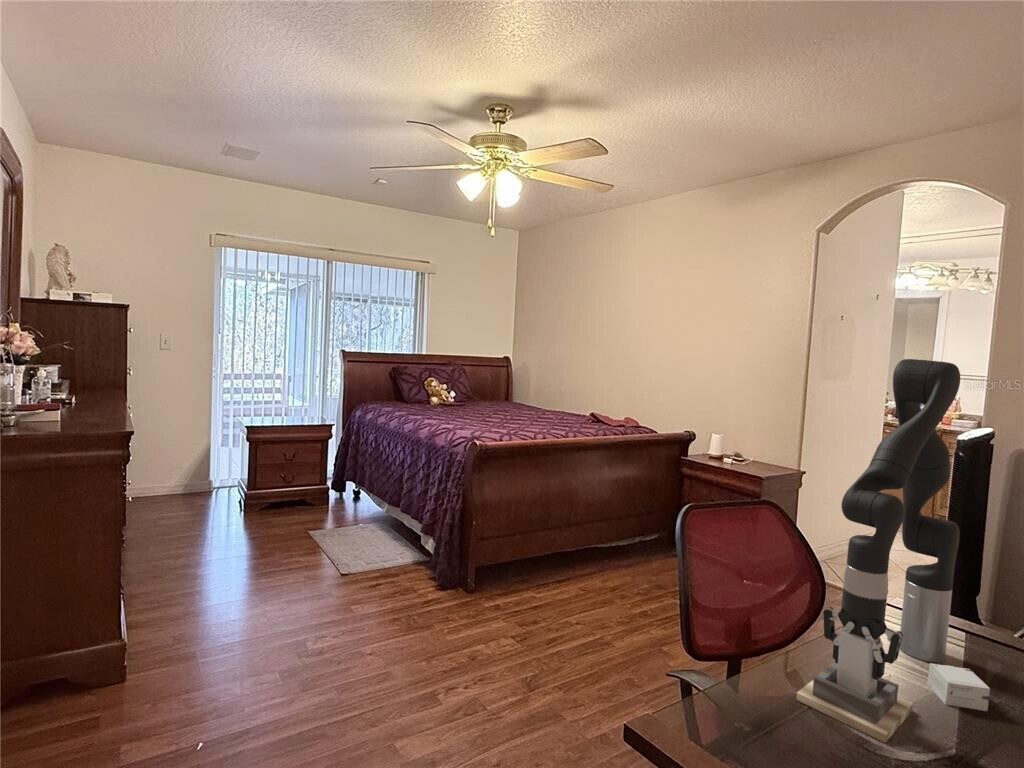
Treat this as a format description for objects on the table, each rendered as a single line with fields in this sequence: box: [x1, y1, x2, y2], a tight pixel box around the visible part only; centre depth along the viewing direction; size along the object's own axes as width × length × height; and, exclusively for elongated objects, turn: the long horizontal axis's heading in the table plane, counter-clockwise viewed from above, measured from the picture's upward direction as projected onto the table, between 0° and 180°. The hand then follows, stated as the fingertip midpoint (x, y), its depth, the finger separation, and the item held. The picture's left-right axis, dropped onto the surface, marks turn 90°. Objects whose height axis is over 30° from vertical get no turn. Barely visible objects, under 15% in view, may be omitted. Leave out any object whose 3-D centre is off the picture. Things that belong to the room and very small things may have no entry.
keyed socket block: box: [795, 661, 914, 743], centre depth 117 cm, size 16×16×5 cm
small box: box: [927, 662, 991, 712], centre depth 122 cm, size 8×8×5 cm
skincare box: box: [837, 630, 879, 699], centre depth 117 cm, size 6×4×12 cm
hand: (857, 669), depth 117 cm, fingers closed on skincare box, 6 cm apart
